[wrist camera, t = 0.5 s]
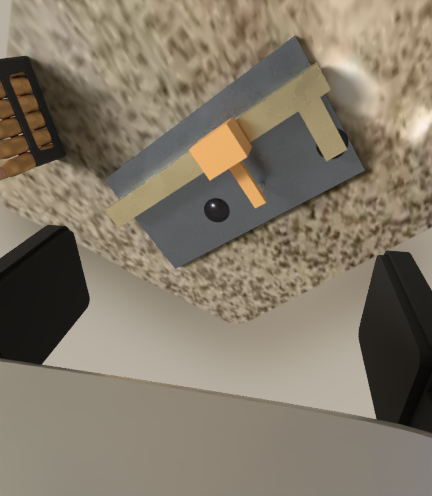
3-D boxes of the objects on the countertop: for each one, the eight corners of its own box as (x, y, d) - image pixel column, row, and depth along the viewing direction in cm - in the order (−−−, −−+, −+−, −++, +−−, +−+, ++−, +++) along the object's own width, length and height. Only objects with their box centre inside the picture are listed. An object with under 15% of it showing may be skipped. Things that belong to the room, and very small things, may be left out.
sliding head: (237, 111, 34) (226, 123, 28) (280, 181, 36) (277, 204, 31) (205, 134, 35) (188, 150, 30) (248, 199, 38) (240, 224, 33)
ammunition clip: (13, 59, 37) (-95, 63, 27) (27, 55, 37) (-77, 58, 26) (53, 158, 42) (-26, 193, 32) (66, 156, 42) (-10, 191, 31)
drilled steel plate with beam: (300, 31, 31) (300, 30, 27) (368, 164, 35) (375, 177, 32) (105, 179, 42) (88, 190, 39) (174, 266, 46) (165, 283, 43)
